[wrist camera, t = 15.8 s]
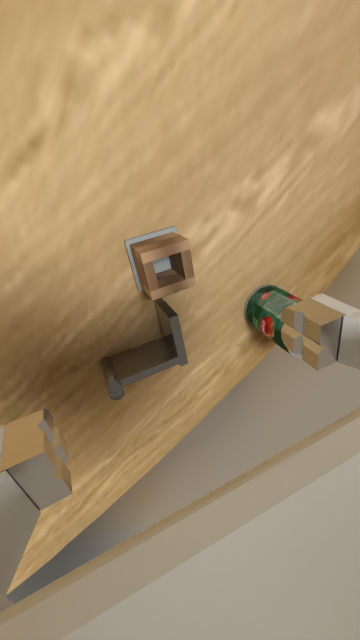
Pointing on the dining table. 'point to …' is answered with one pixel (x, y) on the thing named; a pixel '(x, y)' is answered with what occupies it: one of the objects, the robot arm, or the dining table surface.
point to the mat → (158, 264)
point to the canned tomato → (269, 312)
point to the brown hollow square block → (168, 279)
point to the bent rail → (146, 355)
